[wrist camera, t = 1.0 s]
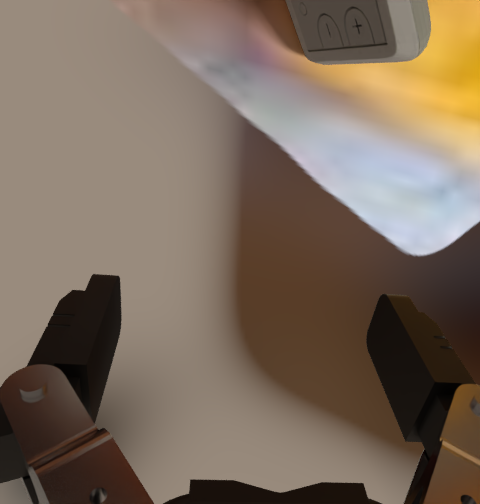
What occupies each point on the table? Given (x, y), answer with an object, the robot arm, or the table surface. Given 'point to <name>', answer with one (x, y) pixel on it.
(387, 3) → the digital clock
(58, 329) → the robot arm
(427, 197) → the table surface
